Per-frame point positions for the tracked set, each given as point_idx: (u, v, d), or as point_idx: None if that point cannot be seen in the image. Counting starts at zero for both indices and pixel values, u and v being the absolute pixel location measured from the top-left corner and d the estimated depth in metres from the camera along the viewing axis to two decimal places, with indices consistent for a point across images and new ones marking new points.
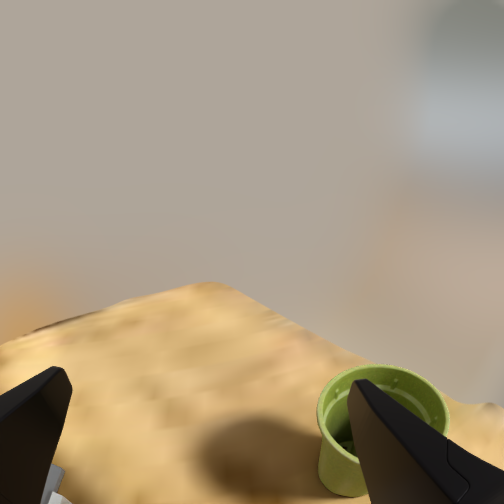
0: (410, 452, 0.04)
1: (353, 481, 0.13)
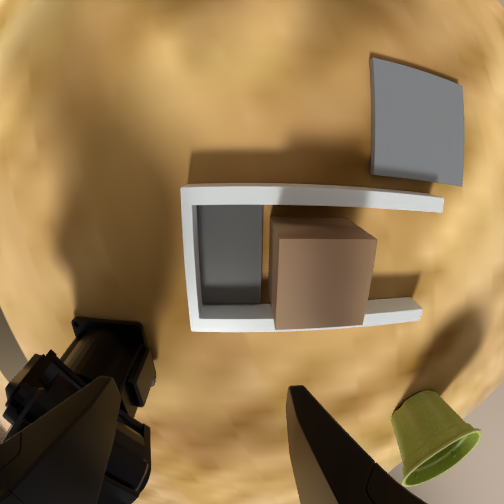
0: (324, 472, 0.04)
1: (412, 431, 0.21)
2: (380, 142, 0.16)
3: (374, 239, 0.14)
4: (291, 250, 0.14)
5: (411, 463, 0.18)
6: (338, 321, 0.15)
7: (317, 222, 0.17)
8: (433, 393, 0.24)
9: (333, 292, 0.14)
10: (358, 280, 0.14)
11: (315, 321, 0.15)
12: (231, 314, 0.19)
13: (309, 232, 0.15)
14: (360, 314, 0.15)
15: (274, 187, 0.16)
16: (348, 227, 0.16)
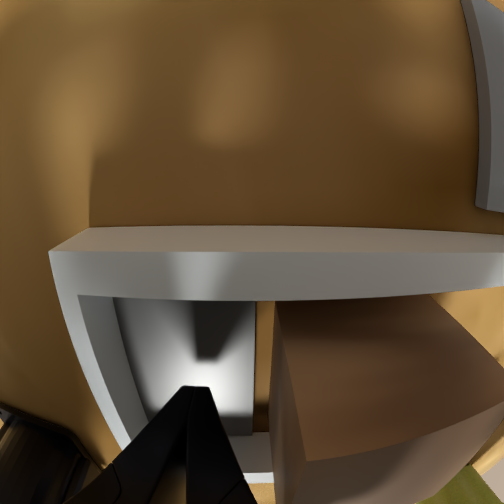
0: (186, 475, 0.04)
1: None
2: (498, 143, 0.06)
3: None
4: (337, 471, 0.03)
5: None
6: None
7: (385, 324, 0.07)
8: (469, 469, 0.13)
9: (406, 489, 0.04)
10: (458, 460, 0.04)
11: None
12: None
13: (386, 393, 0.04)
14: (436, 489, 0.05)
15: (289, 254, 0.05)
16: (453, 340, 0.06)
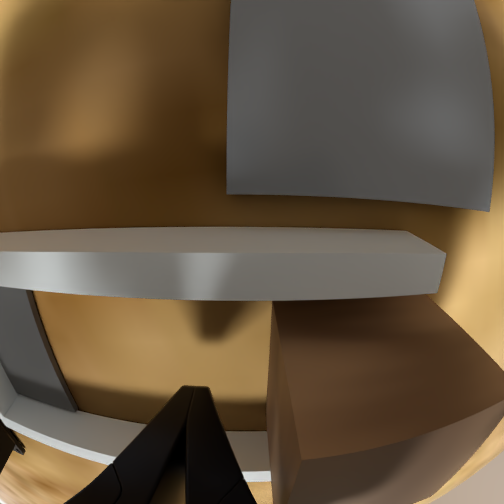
0: (185, 475, 0.04)
1: None
2: (244, 100, 0.06)
3: None
4: (333, 471, 0.03)
5: None
6: None
7: (382, 324, 0.07)
8: None
9: (404, 489, 0.04)
10: (456, 461, 0.04)
11: None
12: (36, 421, 0.08)
13: (382, 393, 0.04)
14: (434, 490, 0.05)
15: None
16: (451, 340, 0.06)
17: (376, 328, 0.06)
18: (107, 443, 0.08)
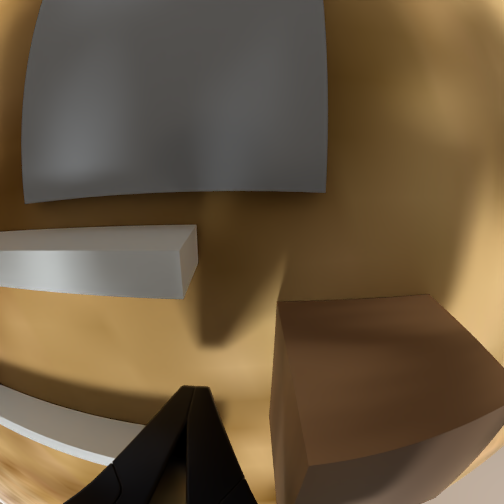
0: (186, 475, 0.04)
1: None
2: (30, 126, 0.05)
3: None
4: (339, 476, 0.03)
5: None
6: None
7: (388, 327, 0.06)
8: None
9: (408, 491, 0.04)
10: (461, 463, 0.04)
11: None
12: None
13: (389, 397, 0.04)
14: (438, 492, 0.05)
15: None
16: (456, 343, 0.05)
17: (382, 330, 0.06)
18: (10, 411, 0.08)
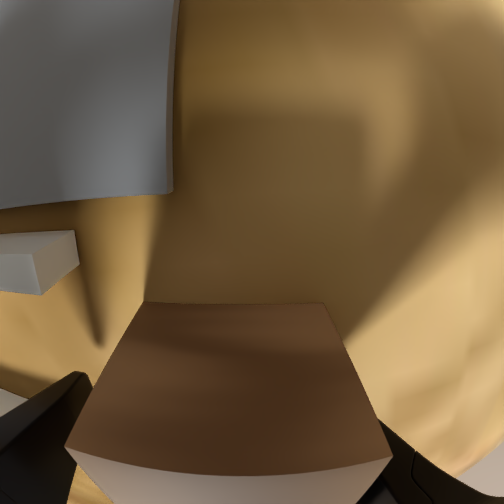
0: None
1: None
2: None
3: (383, 455, 0.03)
4: (107, 473, 0.03)
5: None
6: None
7: (237, 337, 0.06)
8: None
9: None
10: None
11: None
12: None
13: (175, 414, 0.04)
14: None
15: None
16: (317, 367, 0.05)
17: (225, 341, 0.06)
18: None
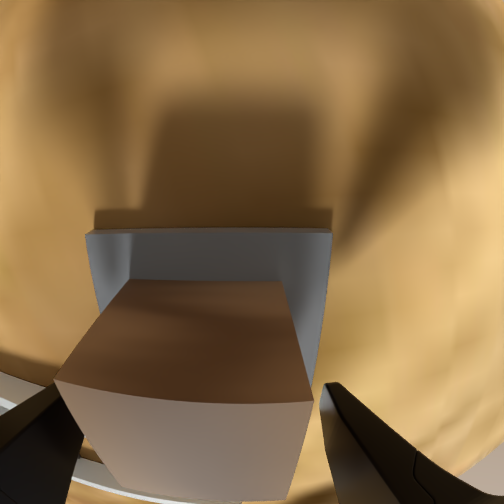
0: (373, 462, 0.04)
1: None
2: None
3: (305, 399, 0.04)
4: (84, 404, 0.04)
5: None
6: (232, 497, 0.06)
7: (201, 305, 0.08)
8: None
9: (207, 472, 0.05)
10: (264, 462, 0.05)
11: (186, 493, 0.06)
12: None
13: (141, 356, 0.05)
14: (277, 492, 0.06)
15: None
16: (262, 328, 0.07)
17: (191, 307, 0.07)
18: (99, 478, 0.13)
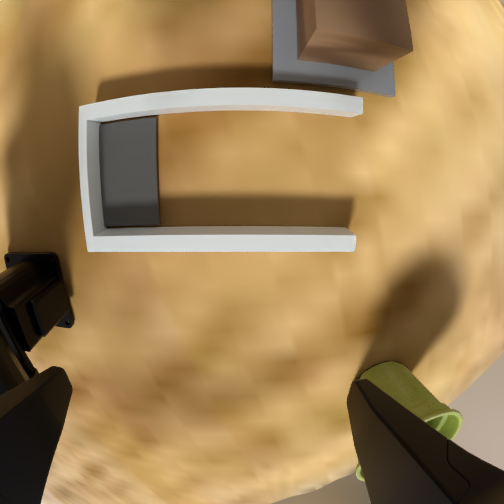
0: (410, 452, 0.04)
1: None
2: (279, 48, 0.14)
3: None
4: None
5: None
6: (386, 36, 0.10)
7: None
8: (399, 365, 0.22)
9: (372, 5, 0.09)
10: (394, 4, 0.09)
11: (360, 29, 0.10)
12: (125, 233, 0.17)
13: None
14: (406, 37, 0.09)
15: (156, 93, 0.14)
16: None
17: None
18: (186, 232, 0.17)
